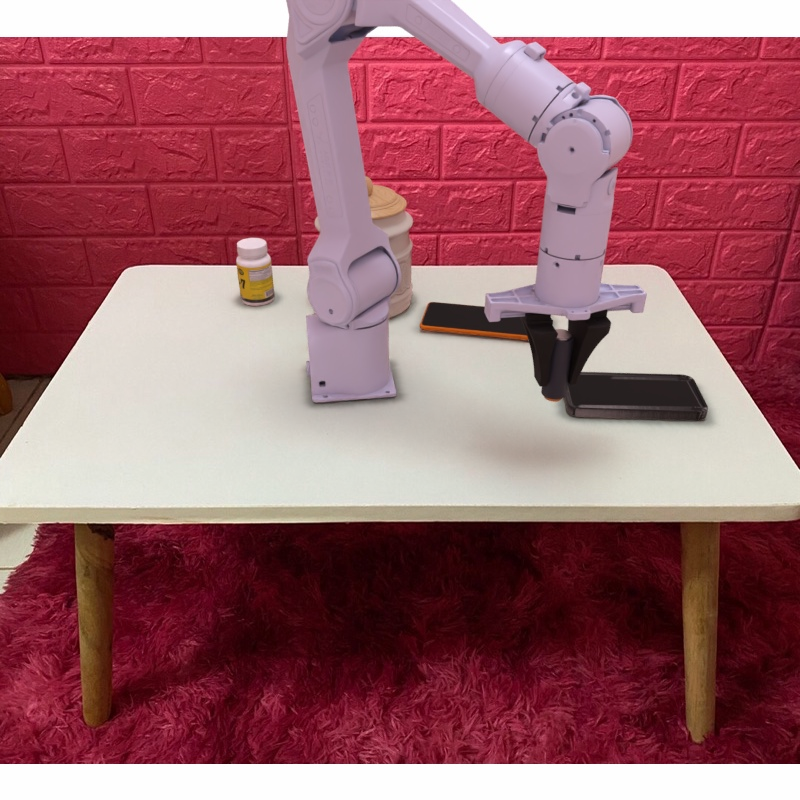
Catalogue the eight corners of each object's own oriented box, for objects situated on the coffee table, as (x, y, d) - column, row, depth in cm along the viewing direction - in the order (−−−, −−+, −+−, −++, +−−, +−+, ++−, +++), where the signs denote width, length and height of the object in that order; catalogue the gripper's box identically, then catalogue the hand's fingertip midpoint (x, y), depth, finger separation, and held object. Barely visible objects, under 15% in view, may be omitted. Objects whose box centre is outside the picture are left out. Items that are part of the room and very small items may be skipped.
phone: (710, 412, 82) (569, 408, 83) (708, 421, 83) (568, 416, 84) (691, 374, 89) (560, 370, 90) (689, 382, 90) (559, 378, 90)
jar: (312, 288, 112) (303, 165, 102) (398, 278, 114) (398, 158, 105) (329, 328, 101) (321, 196, 91) (424, 316, 104) (426, 187, 94)
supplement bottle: (238, 294, 110) (231, 238, 105) (271, 290, 111) (266, 234, 106) (243, 308, 106) (236, 251, 101) (277, 304, 107) (272, 247, 103)
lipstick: (544, 404, 75) (552, 340, 71) (537, 391, 77) (545, 328, 73) (568, 402, 75) (577, 339, 71) (561, 389, 77) (569, 327, 73)
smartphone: (548, 343, 97) (549, 337, 97) (418, 331, 100) (418, 325, 100) (550, 316, 104) (551, 310, 103) (428, 305, 106) (428, 300, 106)
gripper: (502, 270, 63) (491, 408, 71) (670, 261, 65) (642, 396, 72) (483, 238, 69) (474, 368, 76) (638, 231, 71) (615, 359, 78)
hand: (554, 380), depth 75 cm, fingers closed on lipstick, 2 cm apart
